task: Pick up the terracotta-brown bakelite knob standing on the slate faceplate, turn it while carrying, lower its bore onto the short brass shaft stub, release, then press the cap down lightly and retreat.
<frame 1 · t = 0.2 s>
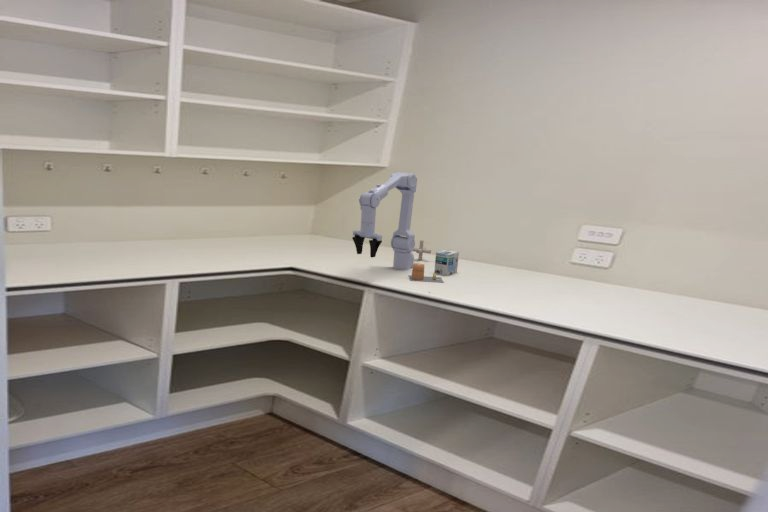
hand: (366, 255, 214), 10 cm above the table, fingers open, 7 cm apart
light bulb box: (445, 276, 234), on the table
pipe connector: (420, 260, 265), on the table
faceplate: (425, 281, 219), on the table
knob: (417, 278, 218), point 1 cm above the table, touching faceplate
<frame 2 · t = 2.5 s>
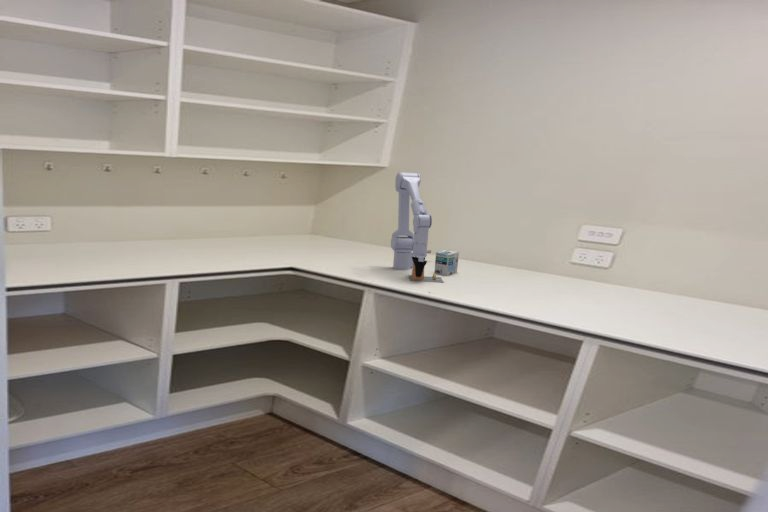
hand: (417, 275, 218), 3 cm above the table, fingers closed on knob, 5 cm apart
knob: (417, 278, 218), point 1 cm above the table, touching faceplate, gripper
everything else where it was.
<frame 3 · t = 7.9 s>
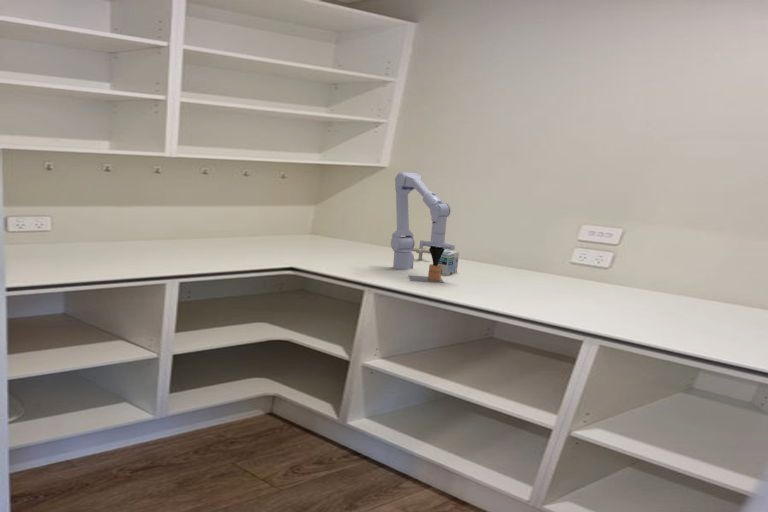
hand: (435, 265, 217), 7 cm above the table, fingers closed, pressing on knob
knob: (434, 279, 218), point 1 cm above the table, touching faceplate, gripper
everything else where it was.
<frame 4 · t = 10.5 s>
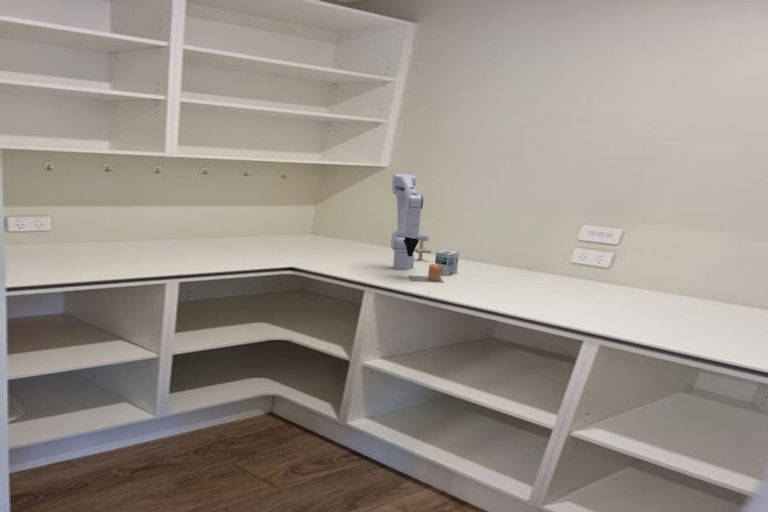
hand: (410, 256, 220), 10 cm above the table, fingers closed
knob: (434, 279, 218), point 1 cm above the table, touching faceplate
everything else where it was.
at the end: knob 0.1 cm from the target spot, point 1.3 cm above the table; knob tilted 1°; the gripper is holding nothing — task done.
